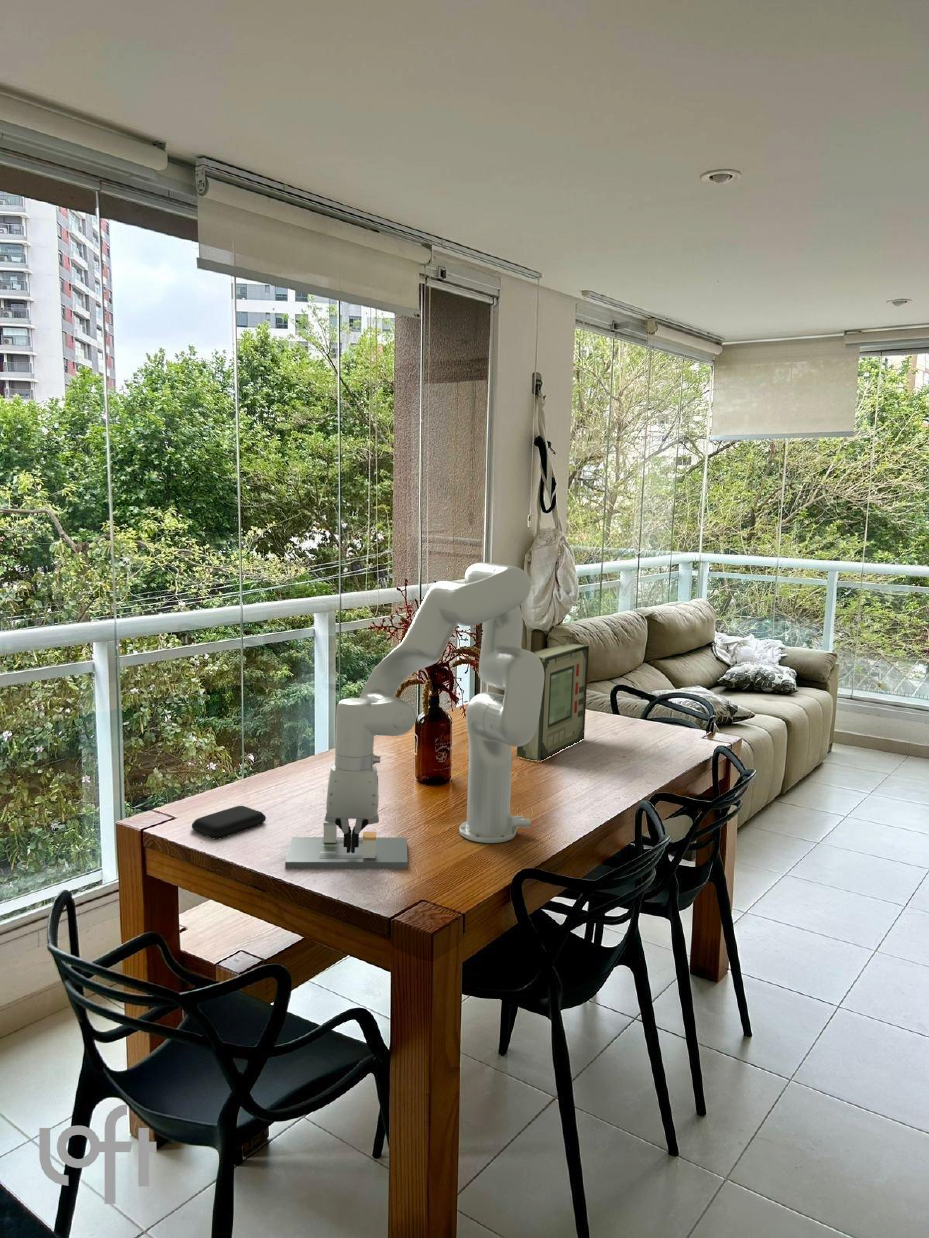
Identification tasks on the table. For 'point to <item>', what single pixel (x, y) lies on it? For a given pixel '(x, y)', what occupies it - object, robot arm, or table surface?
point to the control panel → (560, 701)
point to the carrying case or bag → (228, 822)
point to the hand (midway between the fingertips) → (350, 850)
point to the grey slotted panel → (345, 854)
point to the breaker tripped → (369, 844)
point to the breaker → (330, 832)
